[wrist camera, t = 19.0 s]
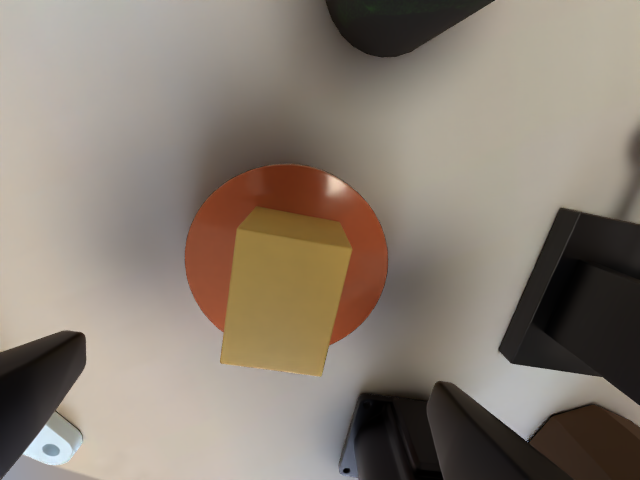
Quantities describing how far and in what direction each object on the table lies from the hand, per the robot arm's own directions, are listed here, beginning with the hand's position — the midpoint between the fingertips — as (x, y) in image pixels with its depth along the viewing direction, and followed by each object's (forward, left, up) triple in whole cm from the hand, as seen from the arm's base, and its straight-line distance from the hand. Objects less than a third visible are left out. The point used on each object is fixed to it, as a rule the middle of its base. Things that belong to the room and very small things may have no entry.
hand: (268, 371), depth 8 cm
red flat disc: (0, 0, -9) cm, 9 cm away
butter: (0, 0, -7) cm, 7 cm away
